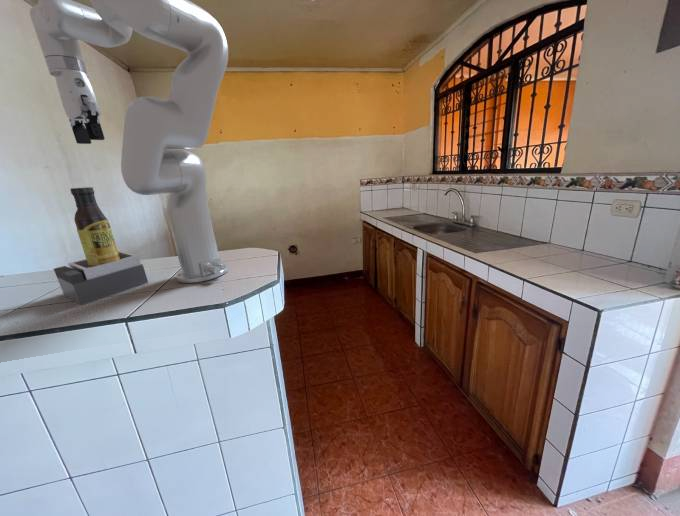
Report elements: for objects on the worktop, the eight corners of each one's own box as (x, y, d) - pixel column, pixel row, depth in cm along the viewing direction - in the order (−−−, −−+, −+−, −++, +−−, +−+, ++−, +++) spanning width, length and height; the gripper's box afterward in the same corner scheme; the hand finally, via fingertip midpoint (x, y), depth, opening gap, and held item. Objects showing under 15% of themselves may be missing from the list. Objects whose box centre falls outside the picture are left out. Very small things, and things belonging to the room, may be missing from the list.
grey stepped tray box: (148, 282, 75) (139, 253, 73) (80, 305, 64) (67, 272, 62) (128, 275, 82) (119, 249, 79) (64, 295, 71) (52, 265, 68)
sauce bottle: (104, 273, 69) (74, 188, 63) (84, 273, 70) (52, 189, 64) (129, 264, 75) (103, 185, 69) (109, 264, 76) (83, 187, 70)
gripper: (98, 64, 71) (119, 138, 77) (75, 79, 81) (95, 145, 86) (58, 56, 66) (84, 137, 71) (38, 74, 75) (63, 144, 80)
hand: (90, 141), depth 79 cm, fingers open, 9 cm apart
